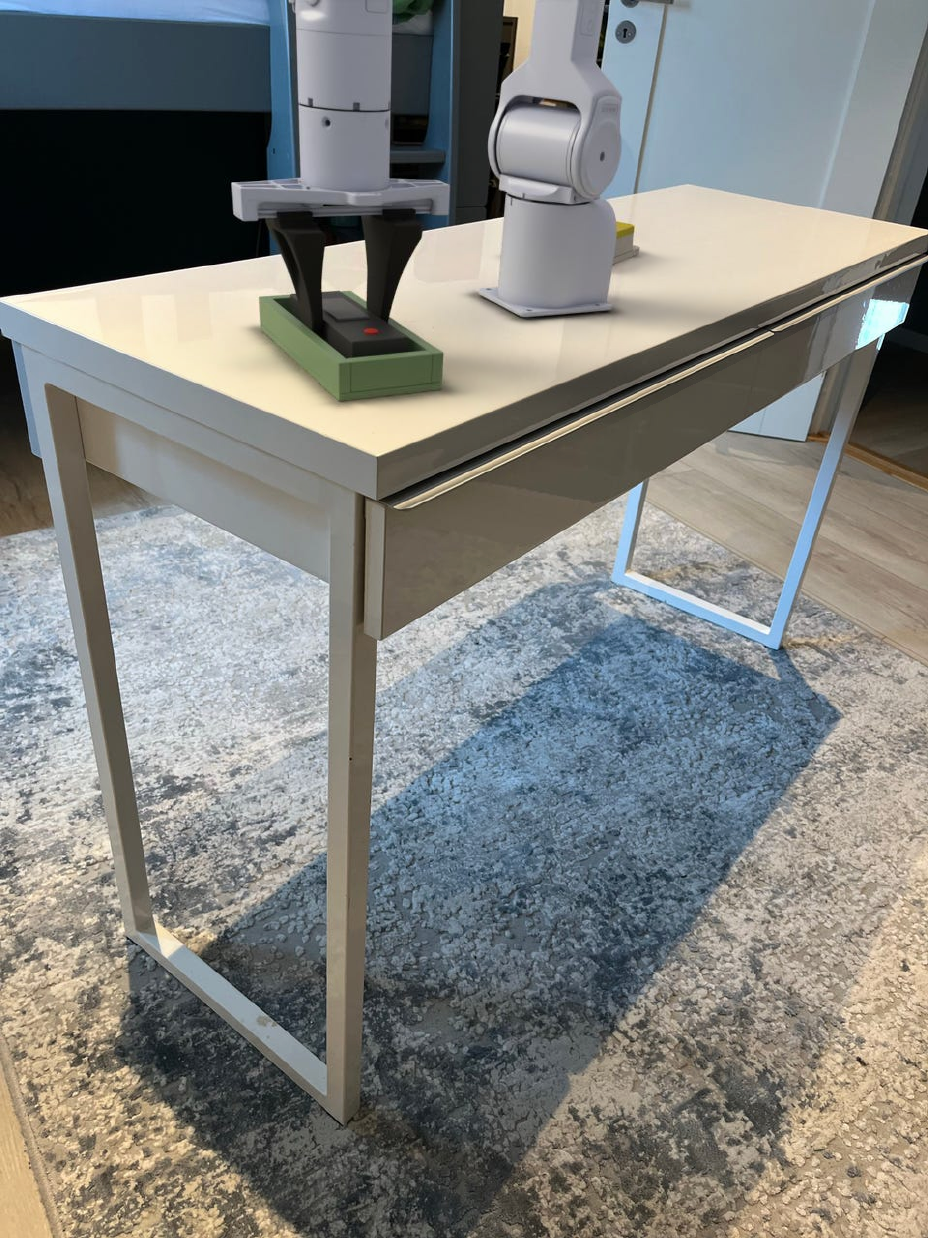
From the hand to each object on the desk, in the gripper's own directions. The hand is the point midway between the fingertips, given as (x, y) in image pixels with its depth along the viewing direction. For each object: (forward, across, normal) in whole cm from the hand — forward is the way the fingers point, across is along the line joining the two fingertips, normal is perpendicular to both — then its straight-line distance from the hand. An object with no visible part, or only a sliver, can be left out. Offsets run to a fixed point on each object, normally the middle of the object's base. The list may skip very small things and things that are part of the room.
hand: (345, 325), depth 65 cm
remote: (+2, 0, 0) cm, 2 cm away
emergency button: (+3, +37, +25) cm, 45 cm away
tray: (+2, 0, 0) cm, 2 cm away
